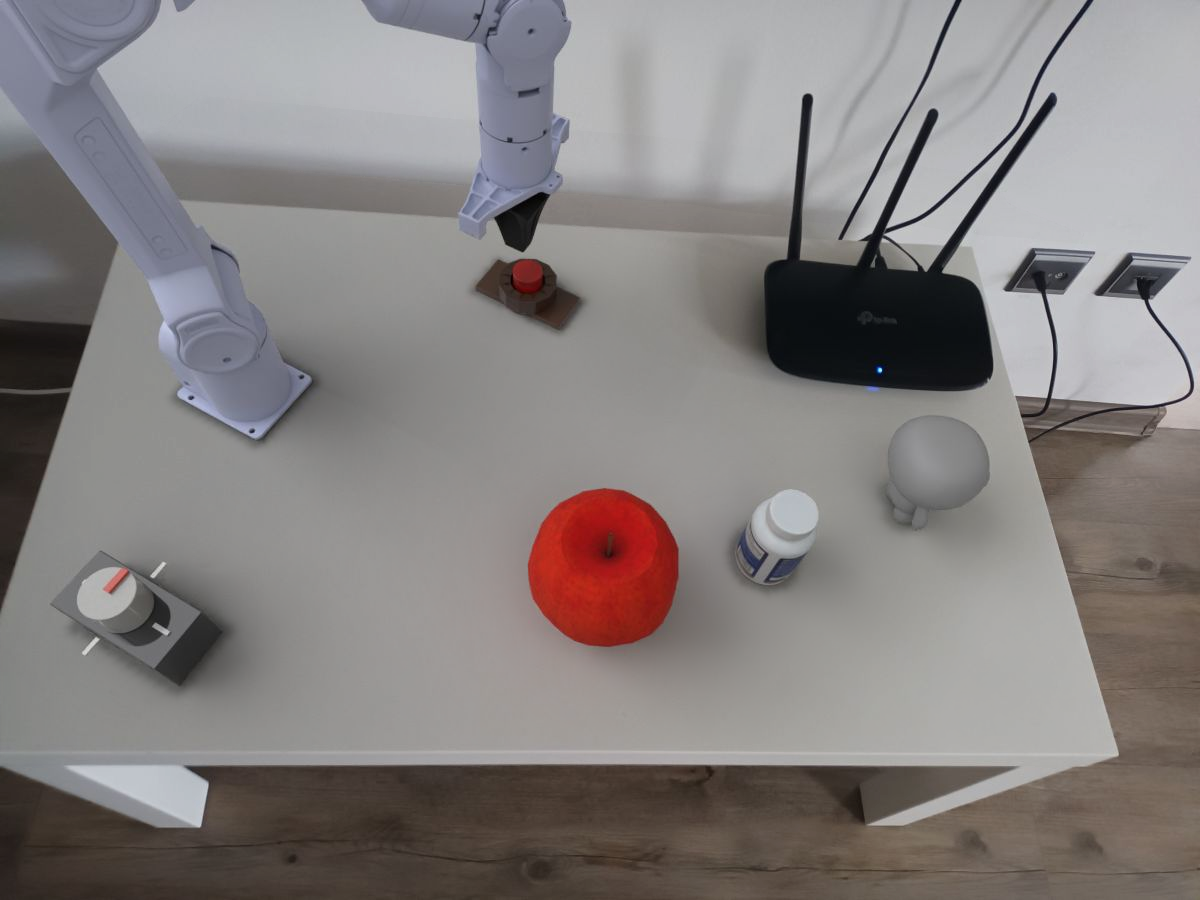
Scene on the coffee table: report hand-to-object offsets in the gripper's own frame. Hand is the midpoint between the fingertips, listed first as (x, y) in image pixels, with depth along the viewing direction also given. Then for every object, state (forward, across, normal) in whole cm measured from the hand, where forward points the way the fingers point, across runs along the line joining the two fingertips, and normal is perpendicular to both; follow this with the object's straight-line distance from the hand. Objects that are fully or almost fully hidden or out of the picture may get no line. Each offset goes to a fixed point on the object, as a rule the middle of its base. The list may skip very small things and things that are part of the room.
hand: (517, 243), depth 75 cm
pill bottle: (+11, -12, -33) cm, 36 cm away
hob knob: (+5, -43, +8) cm, 44 cm away
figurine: (+11, -1, -42) cm, 43 cm away
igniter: (+10, +3, +1) cm, 11 cm away
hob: (+10, -43, +8) cm, 45 cm away
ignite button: (+8, +3, +1) cm, 9 cm away
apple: (+11, -23, -22) cm, 33 cm away
